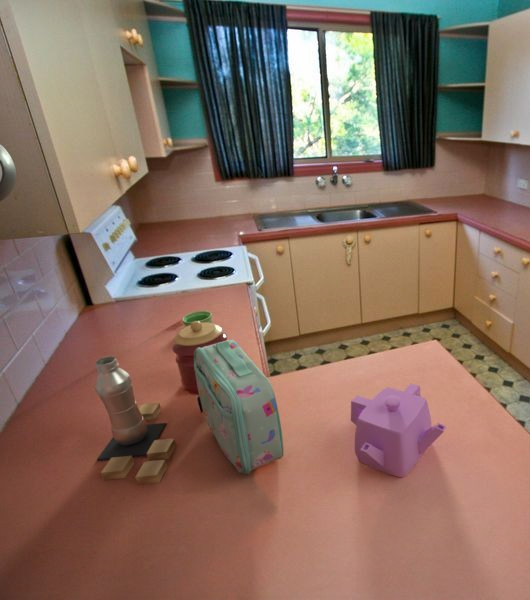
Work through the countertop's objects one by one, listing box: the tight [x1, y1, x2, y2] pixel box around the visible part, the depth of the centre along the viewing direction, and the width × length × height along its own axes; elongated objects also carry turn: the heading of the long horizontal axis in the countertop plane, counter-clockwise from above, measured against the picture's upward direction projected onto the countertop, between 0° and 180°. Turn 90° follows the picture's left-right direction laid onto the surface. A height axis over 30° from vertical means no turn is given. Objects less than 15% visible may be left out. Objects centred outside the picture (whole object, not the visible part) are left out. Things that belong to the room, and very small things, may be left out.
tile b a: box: [100, 456, 135, 481], centre depth 85 cm, size 4×4×2 cm
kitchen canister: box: [171, 321, 228, 395], centre depth 110 cm, size 13×13×18 cm
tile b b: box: [146, 437, 177, 461], centre depth 89 cm, size 4×4×2 cm
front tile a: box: [134, 459, 168, 486], centre depth 83 cm, size 4×4×2 cm
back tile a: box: [138, 402, 162, 422], centre depth 100 cm, size 4×4×2 cm
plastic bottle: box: [94, 355, 148, 446], centre depth 89 cm, size 6×7×20 cm
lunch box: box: [194, 339, 284, 475], centre depth 88 cm, size 27×10×21 cm, turn 40°
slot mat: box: [96, 422, 167, 462], centre depth 93 cm, size 10×10×1 cm
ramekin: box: [181, 310, 213, 328], centre depth 142 cm, size 9×9×4 cm
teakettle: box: [350, 383, 447, 478], centre depth 86 cm, size 17×17×12 cm
